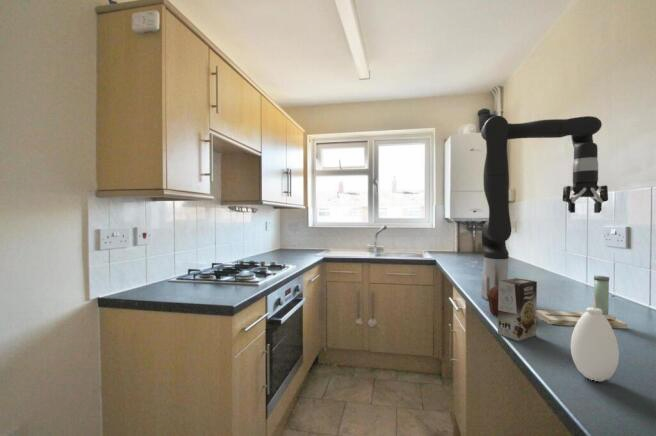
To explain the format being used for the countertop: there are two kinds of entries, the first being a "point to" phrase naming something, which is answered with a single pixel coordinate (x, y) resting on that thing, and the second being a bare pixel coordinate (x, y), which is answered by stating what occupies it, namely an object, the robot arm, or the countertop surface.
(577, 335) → the sauce bottle
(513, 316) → the coffee box
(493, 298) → the muffin
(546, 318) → the beige flat wavy piece
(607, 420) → the countertop surface
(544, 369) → the countertop surface
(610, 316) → the green cylindrical container
